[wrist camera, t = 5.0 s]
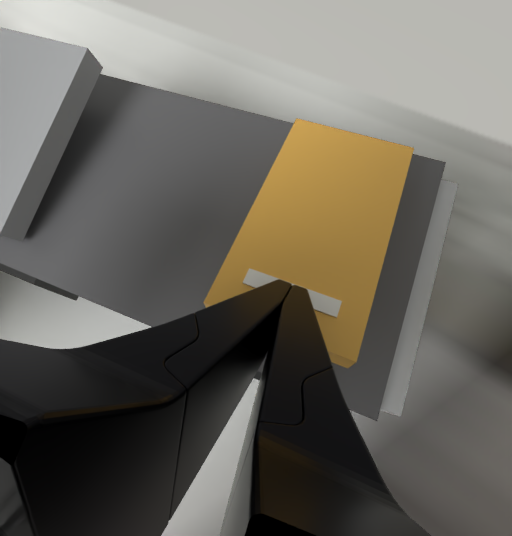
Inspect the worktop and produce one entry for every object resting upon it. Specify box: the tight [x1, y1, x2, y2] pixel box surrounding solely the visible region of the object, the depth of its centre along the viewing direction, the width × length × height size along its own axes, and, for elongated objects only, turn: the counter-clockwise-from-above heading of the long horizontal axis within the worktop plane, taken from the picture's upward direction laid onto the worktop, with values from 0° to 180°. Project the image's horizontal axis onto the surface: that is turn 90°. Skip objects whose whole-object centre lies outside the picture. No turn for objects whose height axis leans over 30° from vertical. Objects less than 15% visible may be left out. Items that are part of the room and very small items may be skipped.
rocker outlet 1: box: [0, 27, 103, 242], centre depth 13 cm, size 8×4×1 cm, turn 158°
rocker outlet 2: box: [203, 118, 414, 368], centre depth 11 cm, size 8×4×1 cm, turn 158°
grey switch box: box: [0, 74, 458, 421], centre depth 16 cm, size 10×22×6 cm, turn 68°
